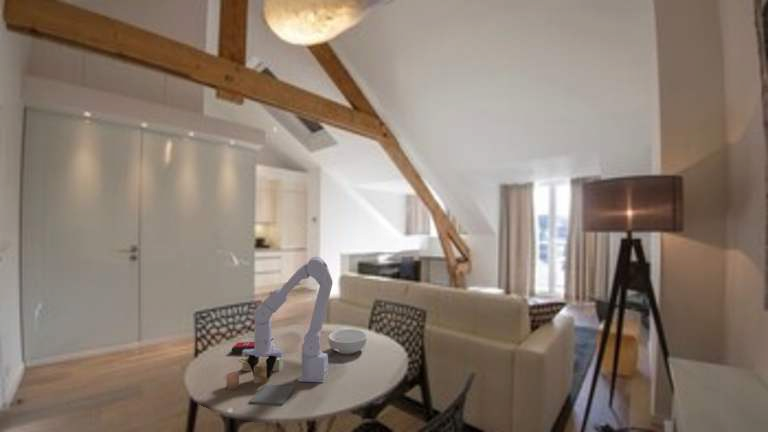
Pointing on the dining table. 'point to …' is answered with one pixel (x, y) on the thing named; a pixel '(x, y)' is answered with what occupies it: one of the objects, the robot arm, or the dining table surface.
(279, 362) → the sage block
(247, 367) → the cream ribbed piece
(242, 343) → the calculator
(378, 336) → the dining table surface
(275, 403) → the slate mat
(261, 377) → the oak block
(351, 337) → the cereal bowl
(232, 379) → the terracotta cylinder
